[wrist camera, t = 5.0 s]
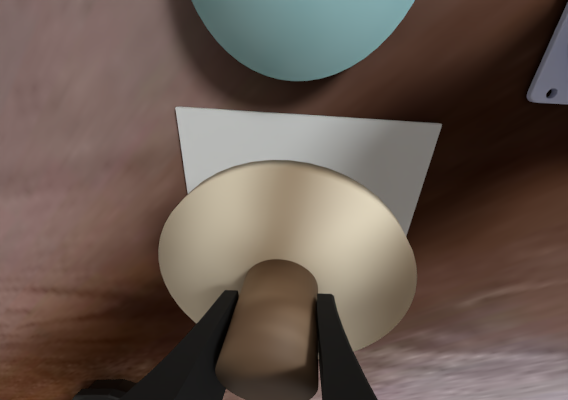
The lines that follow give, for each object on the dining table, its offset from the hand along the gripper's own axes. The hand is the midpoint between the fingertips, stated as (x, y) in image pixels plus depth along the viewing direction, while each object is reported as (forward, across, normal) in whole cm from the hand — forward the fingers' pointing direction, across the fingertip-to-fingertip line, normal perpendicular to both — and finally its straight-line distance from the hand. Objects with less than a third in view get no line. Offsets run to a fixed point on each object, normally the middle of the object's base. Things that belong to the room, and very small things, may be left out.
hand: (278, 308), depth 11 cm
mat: (+9, 0, 0) cm, 9 cm away
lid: (+2, 0, 0) cm, 2 cm away
